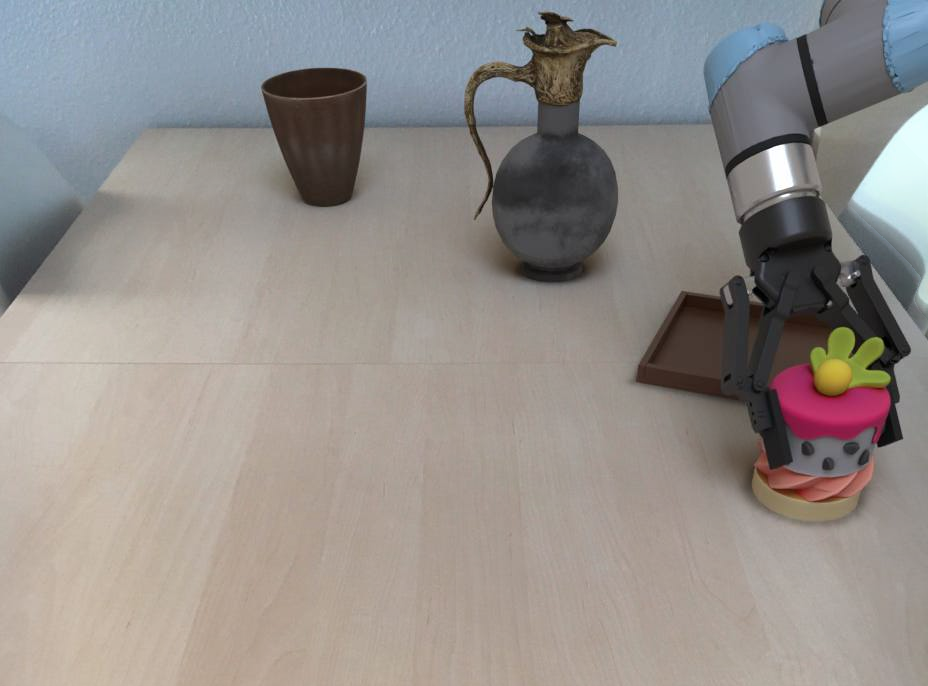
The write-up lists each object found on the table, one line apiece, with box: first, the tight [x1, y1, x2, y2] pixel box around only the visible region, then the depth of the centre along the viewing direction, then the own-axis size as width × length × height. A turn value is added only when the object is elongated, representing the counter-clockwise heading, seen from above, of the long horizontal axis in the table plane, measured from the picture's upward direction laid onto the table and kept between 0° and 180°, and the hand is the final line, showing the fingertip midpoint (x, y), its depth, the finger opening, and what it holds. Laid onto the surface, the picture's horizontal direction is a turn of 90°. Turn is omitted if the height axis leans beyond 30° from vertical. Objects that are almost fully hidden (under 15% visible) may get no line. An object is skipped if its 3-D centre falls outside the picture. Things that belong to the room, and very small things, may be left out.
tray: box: [636, 290, 854, 403], centre depth 115 cm, size 23×20×2 cm
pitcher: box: [463, 11, 619, 283], centre depth 124 cm, size 11×19×30 cm, turn 81°
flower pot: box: [260, 67, 368, 207], centre depth 150 cm, size 15×15×16 cm
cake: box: [751, 327, 891, 522], centre depth 92 cm, size 10×11×15 cm
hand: (836, 454), depth 91 cm, fingers closed on cake, 10 cm apart
